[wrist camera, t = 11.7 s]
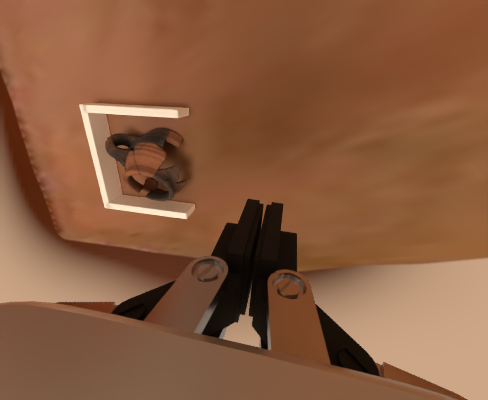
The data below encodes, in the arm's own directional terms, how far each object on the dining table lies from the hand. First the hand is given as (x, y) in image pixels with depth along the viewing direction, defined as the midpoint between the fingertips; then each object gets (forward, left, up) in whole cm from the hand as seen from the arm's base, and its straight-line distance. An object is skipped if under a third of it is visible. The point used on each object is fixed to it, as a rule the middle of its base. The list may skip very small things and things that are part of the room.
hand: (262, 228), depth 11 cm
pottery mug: (+4, -19, -24) cm, 31 cm away
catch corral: (+5, -20, -24) cm, 32 cm away
